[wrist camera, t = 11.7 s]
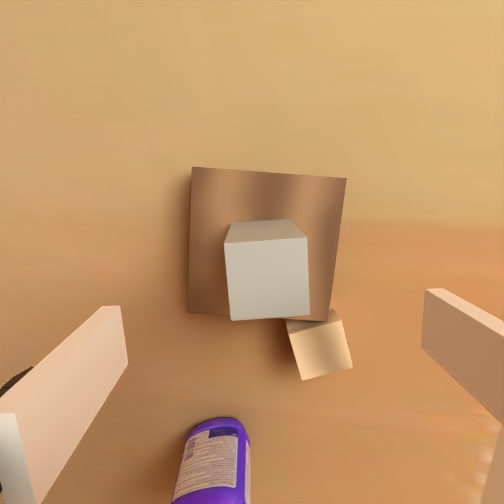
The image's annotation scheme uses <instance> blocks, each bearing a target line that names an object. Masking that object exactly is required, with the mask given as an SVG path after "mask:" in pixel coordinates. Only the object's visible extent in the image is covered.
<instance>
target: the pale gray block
mask: <svg viewBox="0 0 504 504" xmlns="http://www.w3.org/2000/svg"><path fill="white" fill-rule="evenodd" d="M224 252H225V262H226V273H227V283H228V294H229V305H230V315H231V321H236V320H249V319H263V318H277V317H291V316H304V315H310V302H309V275H308V248H307V237H306V236H305V235H304V234H303V233H302V232H301V230H300V229H299V228H298V227H297V226H296V225H295V224H294V223H293V222H292V221H291V220H290V219H278V220H265V221H252V222H238V223H231V225H230V228H229V231H228V233H227V236H226V239H225V241H224Z"/></svg>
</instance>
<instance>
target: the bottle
mask: <svg viewBox="0 0 504 504" xmlns="http://www.w3.org/2000/svg"><path fill="white" fill-rule="evenodd" d="M250 454H251V451H250V441H249V438H248V436H247V433H246V431H245V429H244V427H243V425H242V424H241V423H240V422H239V421H238V420H237V419H234V418H228V417H225V418H216V419H212V420H208V421H206V422H203V423H201V424H199V425H198V426H196V427H195V428H194V429H192V431H191V432H190V434H189V436H188V438H187V440H186V444H185V448H184V451H183V456H182V460H181V464H180V468H179V472H178V476H177V480H176V484H175V488H174V492H173V495H172V500H171V504H250Z"/></svg>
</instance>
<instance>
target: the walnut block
mask: <svg viewBox="0 0 504 504" xmlns="http://www.w3.org/2000/svg"><path fill="white" fill-rule="evenodd" d="M346 179H347V178H335V177H321V176H308V175H295V174H282V173H268V172H255V171H242V170H229V169H216V168H202V167H192V181H191V211H190V242H189V273H188V304H187V312H188V313H204V314H219V315H230V305H229V294H228V283H227V273H226V262H225V252H224V241H225V239H226V236H227V233H228V231H229V228H230V225H231V223H238V222H252V221H265V220H278V219H290V220H291V221H292V222H293V223H294V224H295V225H296V226H297V227H298V228H299V229H300V230H301V232H302V233H303V234H304V235H305V236H306V237H307V248H308V275H309V302H310V315H304V316H291V317H277V318H282V319H297V320H313V321H328V314H329V307H330V299H331V292H332V284H333V277H334V269H335V261H336V254H337V246H338V239H339V231H340V224H341V216H342V209H343V201H344V194H345V186H346Z"/></svg>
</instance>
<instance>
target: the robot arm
mask: <svg viewBox="0 0 504 504" xmlns="http://www.w3.org/2000/svg"><path fill="white" fill-rule="evenodd" d="M421 348H422V349H423V350H424V351H425V352H426V353H428V354H429V355H430V356H431V357H432V358H433V359H434V360H435V361H436V362H437V363H438V364H439V365H440V366H441V367H442V368H443V369H444V370H446V371H447V372H448V373H449V374H450V375H451V376H452V377H453V378H454V379H455V380H456V381H457V382H458V383H459V384H460V385H461V386H462V387H463V388H465V389H466V390H467V391H468V392H469V393H470V394H471V395H472V396H473V397H474V398H475V399H476V400H477V401H478V402H479V403H480V404H481V405H483V406H484V407H485V408H486V409H487V410H488V411H489V412H490V413H491V414H492V415H493V416H494V417H495V418H496V419H497V420H498V421H499V422H500V423H502V424H503V425H504V321H502V320H500V319H498V318H496V317H494V316H493V315H491V314H489V313H487V312H485V311H484V310H482V309H480V308H478V307H476V306H474V305H473V304H471V303H469V302H467V301H465V300H463V299H462V298H460V297H458V296H456V295H454V294H452V293H451V292H449V291H447V290H445V289H443V288H437V289H425V298H424V312H423V327H422V341H421ZM127 365H128V358H127V351H126V344H125V337H124V330H123V323H122V316H121V309H120V305H119V306H102V307H101V308H100V309H99V310H97V311H96V312H95V313H94V314H93V315H92V316H91V317H90V318H88V319H87V320H86V321H85V322H84V323H83V324H82V325H81V326H80V327H78V328H77V329H76V330H75V331H74V332H73V333H72V334H71V335H70V336H68V337H67V338H66V339H65V340H64V341H63V342H62V343H61V344H60V345H58V346H57V347H56V348H55V349H54V350H53V351H52V352H51V353H49V354H48V355H47V356H46V357H45V358H44V359H43V360H42V361H41V362H39V363H38V364H37V365H36V366H35V367H30V368H28V369H27V370H25V371H23V372H21V373H20V374H18V375H16V376H14V377H13V378H12V379H11V380H10V381H8V382H7V383H6V384H5V385H4V386H3V387H2V389H0V493H1V494H2V498H3V501H4V504H41V503H42V501H43V500H44V498H45V496H46V495H47V493H48V492H49V490H50V488H51V487H52V485H53V484H54V482H55V480H56V479H57V477H58V476H59V474H60V472H61V471H62V469H63V468H64V466H65V464H66V463H67V461H68V459H69V458H70V456H71V455H72V453H73V451H74V450H75V448H76V447H77V445H78V443H79V442H80V440H81V439H82V437H83V435H84V434H85V432H86V431H87V429H88V427H89V426H90V424H91V423H92V421H93V419H94V418H95V416H96V415H97V413H98V411H99V410H100V408H101V407H102V405H103V403H104V402H105V400H106V399H107V397H108V395H109V394H110V392H111V391H112V389H113V387H114V386H115V384H116V383H117V381H118V379H119V378H120V376H121V375H122V373H123V371H124V370H125V368H126V367H127Z"/></svg>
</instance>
